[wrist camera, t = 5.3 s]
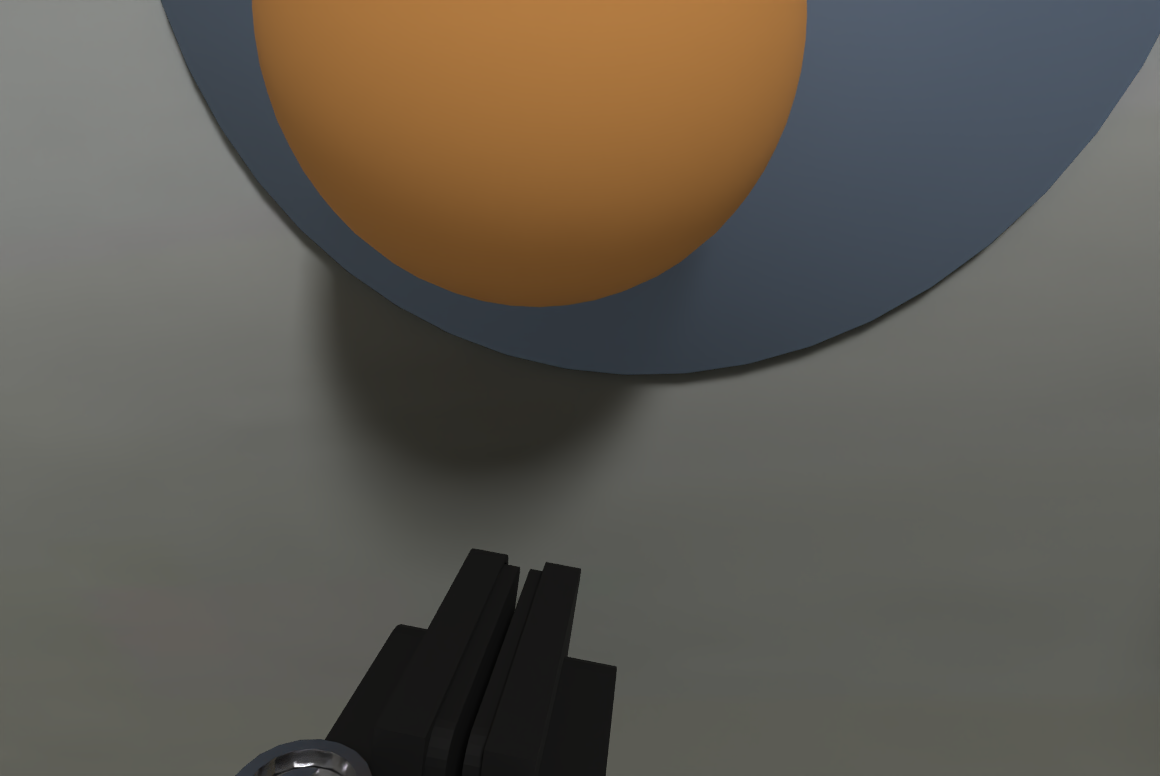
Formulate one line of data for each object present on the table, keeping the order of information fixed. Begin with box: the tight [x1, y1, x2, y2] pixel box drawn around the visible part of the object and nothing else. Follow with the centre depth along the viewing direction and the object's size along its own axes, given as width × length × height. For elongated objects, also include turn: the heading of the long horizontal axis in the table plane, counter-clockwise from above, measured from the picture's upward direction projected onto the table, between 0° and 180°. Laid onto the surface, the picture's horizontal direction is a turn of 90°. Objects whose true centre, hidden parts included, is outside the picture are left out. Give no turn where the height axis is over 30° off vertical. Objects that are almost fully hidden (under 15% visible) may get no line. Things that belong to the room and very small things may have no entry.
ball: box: [252, 0, 807, 307], centre depth 8 cm, size 6×6×6 cm
